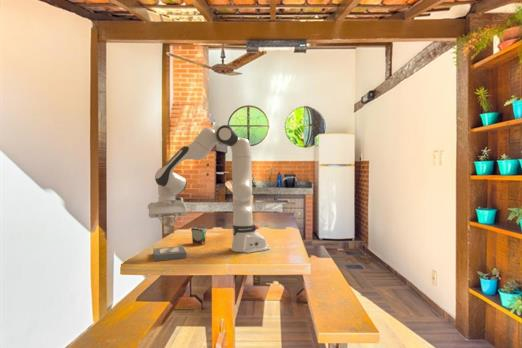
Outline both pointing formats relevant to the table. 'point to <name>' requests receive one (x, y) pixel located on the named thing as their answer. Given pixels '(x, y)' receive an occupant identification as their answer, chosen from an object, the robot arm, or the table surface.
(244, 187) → the robot arm
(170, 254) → the base block
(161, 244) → the table surface
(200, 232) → the food container
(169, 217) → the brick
